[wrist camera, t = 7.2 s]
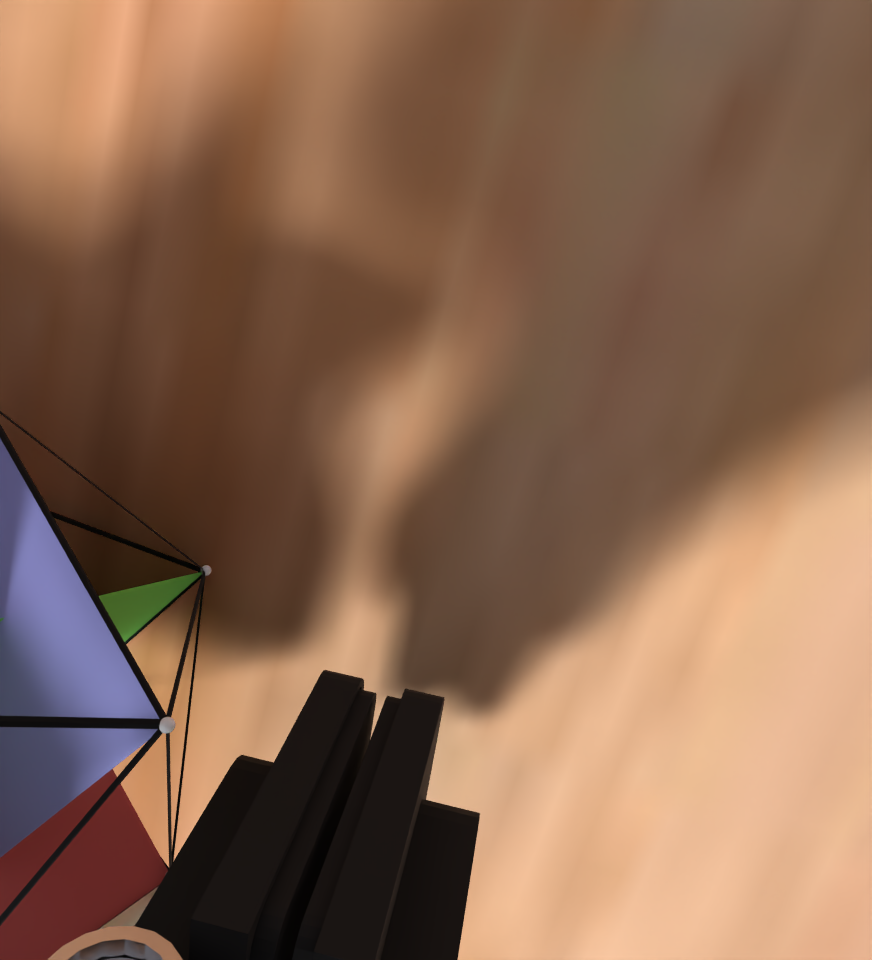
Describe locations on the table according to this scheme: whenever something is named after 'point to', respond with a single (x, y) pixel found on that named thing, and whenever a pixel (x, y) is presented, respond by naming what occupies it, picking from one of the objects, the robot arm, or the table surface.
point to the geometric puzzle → (72, 728)
